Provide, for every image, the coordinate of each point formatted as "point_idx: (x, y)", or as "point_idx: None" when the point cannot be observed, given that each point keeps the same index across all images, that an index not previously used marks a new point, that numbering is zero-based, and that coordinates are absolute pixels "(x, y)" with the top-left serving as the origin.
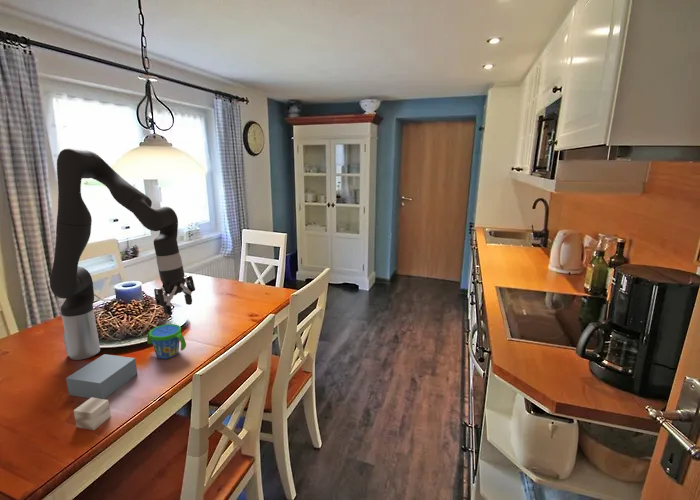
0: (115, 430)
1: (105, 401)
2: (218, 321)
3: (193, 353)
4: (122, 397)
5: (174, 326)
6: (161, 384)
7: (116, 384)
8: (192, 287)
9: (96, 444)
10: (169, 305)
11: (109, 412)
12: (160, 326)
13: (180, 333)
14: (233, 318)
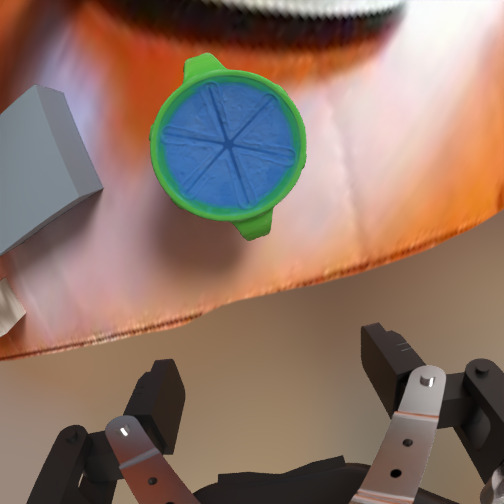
0: (31, 354)
1: (2, 333)
2: (458, 102)
3: (286, 216)
4: (48, 270)
5: (288, 133)
6: (130, 297)
7: (39, 228)
8: (468, 442)
9: (11, 357)
10: (165, 451)
11: (20, 318)
12: (239, 78)
13: (267, 219)
14: (487, 132)
